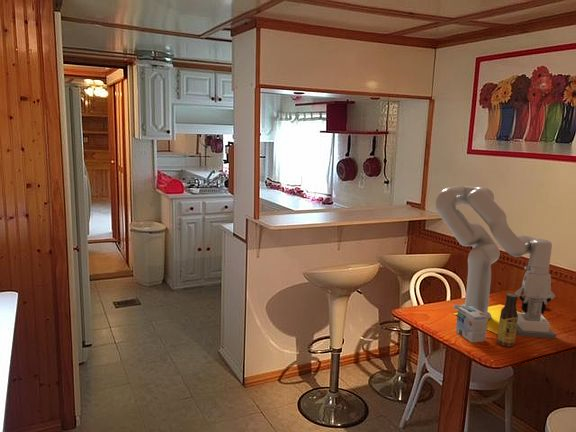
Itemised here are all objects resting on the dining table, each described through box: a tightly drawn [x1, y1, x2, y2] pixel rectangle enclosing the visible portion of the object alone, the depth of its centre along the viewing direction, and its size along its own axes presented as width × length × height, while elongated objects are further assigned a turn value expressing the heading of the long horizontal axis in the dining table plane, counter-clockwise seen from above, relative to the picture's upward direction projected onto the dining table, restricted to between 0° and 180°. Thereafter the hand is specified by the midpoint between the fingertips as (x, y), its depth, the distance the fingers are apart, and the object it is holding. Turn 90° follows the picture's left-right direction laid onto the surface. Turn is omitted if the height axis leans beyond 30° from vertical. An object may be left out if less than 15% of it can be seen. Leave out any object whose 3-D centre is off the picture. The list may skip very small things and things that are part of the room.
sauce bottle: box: [496, 292, 519, 347], centre depth 192 cm, size 6×6×20 cm
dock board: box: [516, 311, 557, 339], centre depth 207 cm, size 14×14×6 cm
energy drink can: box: [524, 295, 543, 321], centre depth 206 cm, size 6×6×15 cm
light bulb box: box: [455, 306, 489, 343], centre depth 199 cm, size 11×7×11 cm, turn 16°
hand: (532, 311), depth 206 cm, fingers closed on energy drink can, 6 cm apart
